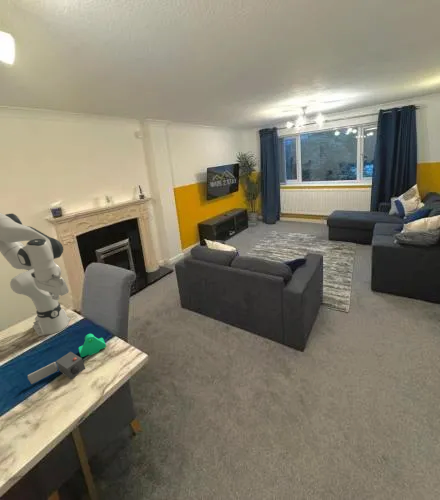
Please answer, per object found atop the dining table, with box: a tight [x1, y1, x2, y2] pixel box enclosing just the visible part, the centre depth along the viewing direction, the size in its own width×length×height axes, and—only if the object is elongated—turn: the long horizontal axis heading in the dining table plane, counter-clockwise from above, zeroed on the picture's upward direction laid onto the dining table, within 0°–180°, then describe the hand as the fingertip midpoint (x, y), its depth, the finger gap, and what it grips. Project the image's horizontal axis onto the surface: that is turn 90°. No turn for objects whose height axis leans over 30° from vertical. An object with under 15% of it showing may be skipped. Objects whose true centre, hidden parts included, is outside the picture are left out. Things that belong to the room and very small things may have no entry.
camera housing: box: [55, 351, 86, 380], centre depth 122 cm, size 11×7×7 cm, turn 57°
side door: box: [27, 361, 59, 385], centre depth 119 cm, size 11×2×5 cm, turn 132°
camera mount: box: [78, 333, 107, 359], centre depth 134 cm, size 12×8×10 cm, turn 125°
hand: (56, 299), depth 125 cm, fingers closed
